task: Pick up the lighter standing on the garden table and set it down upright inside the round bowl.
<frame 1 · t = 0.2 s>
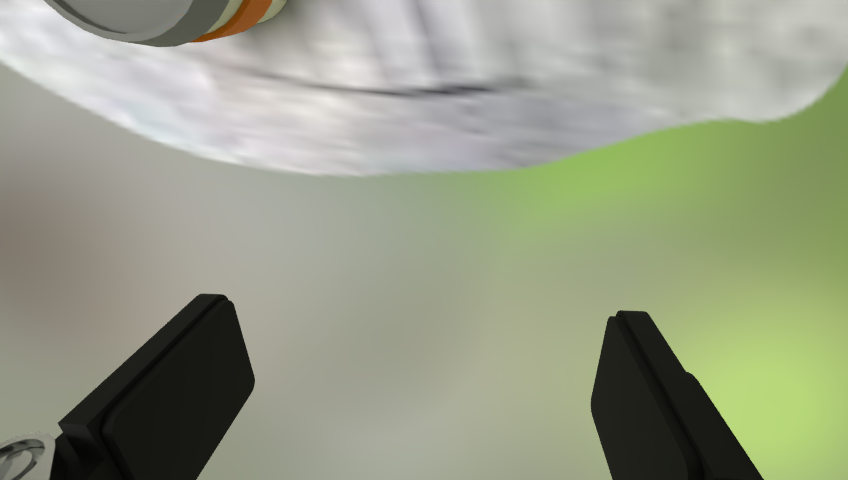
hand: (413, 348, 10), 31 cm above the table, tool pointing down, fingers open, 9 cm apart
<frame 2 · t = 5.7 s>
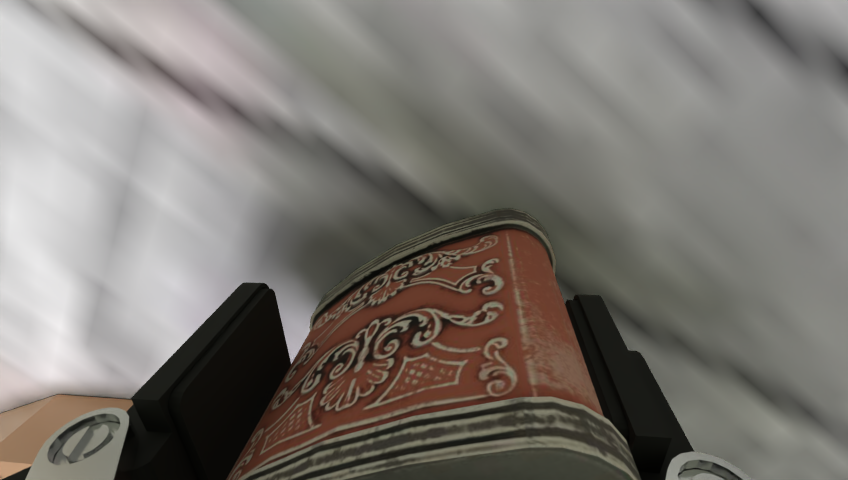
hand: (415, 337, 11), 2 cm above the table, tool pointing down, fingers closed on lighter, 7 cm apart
lighter: (426, 283, 13), on the table, touching gripper
when the fingers open (4 cm above the table, at t = 12.3 s): lighter drops 1 cm, resting on round bowl.
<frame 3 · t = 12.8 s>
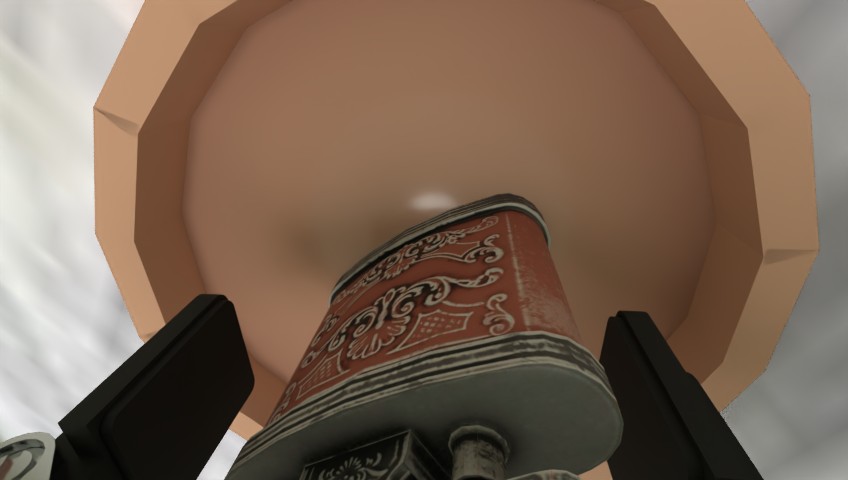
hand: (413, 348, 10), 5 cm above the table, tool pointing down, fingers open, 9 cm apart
round bowl: (432, 253, 15), on the table
lighter: (434, 264, 14), point 1 cm above the table, touching round bowl
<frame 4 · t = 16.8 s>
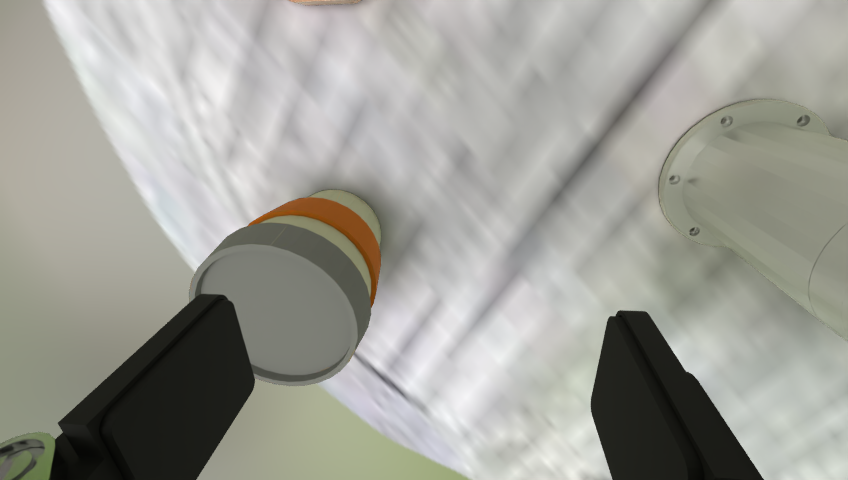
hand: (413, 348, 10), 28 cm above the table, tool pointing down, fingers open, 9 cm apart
reusable coffee cup: (338, 230, 41), on the table
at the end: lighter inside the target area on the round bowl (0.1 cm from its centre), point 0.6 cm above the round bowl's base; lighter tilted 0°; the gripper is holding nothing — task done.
